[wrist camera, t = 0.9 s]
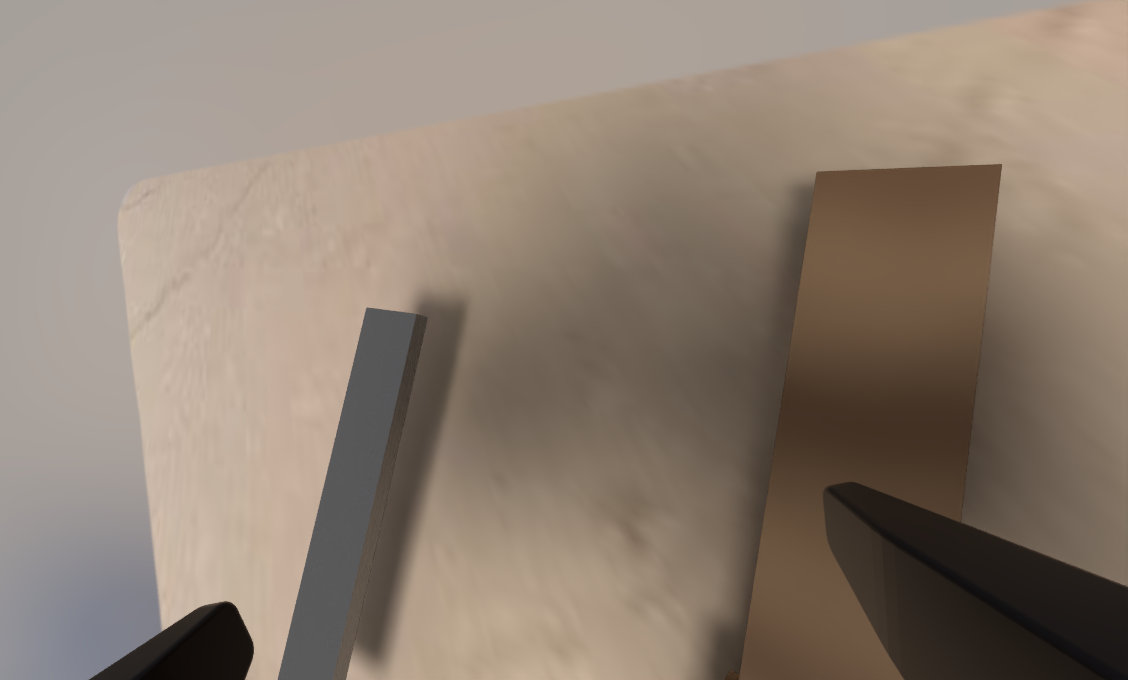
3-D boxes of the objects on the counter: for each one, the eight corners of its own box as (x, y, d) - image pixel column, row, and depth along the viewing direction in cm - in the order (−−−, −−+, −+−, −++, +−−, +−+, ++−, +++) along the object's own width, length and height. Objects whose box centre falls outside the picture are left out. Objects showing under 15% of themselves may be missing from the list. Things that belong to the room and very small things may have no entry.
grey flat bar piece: (500, 336, 22) (437, 316, 19) (388, 867, 20) (295, 950, 17) (417, 325, 25) (348, 305, 21) (310, 795, 23) (215, 854, 19)
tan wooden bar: (917, 994, 12) (931, 1114, 10) (700, 858, 15) (673, 929, 13) (1007, 207, 14) (1034, 162, 12) (801, 209, 17) (793, 172, 15)
